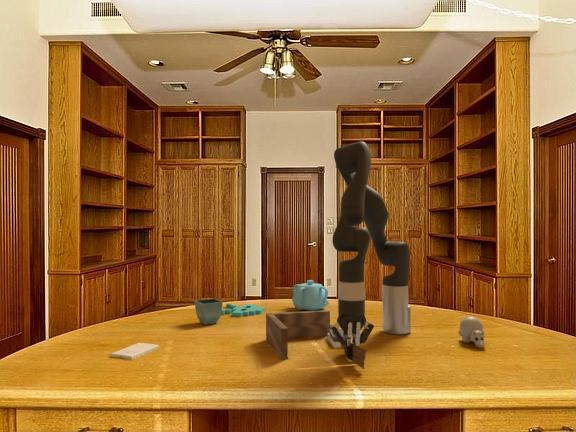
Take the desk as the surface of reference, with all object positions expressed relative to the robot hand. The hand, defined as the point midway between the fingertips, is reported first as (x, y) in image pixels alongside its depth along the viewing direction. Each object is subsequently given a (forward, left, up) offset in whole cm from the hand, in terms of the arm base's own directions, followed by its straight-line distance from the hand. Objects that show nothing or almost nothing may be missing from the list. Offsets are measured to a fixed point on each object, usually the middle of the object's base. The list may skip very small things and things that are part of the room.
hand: (351, 358), depth 120 cm
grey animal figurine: (-47, -9, -2) cm, 48 cm away
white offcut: (-4, -20, -1) cm, 20 cm away
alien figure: (+20, -80, -2) cm, 83 cm away
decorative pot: (-12, -78, -2) cm, 79 cm away
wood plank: (0, 0, -1) cm, 1 cm away
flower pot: (+36, -61, -2) cm, 71 cm away
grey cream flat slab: (-4, -20, -2) cm, 20 cm away
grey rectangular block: (-4, -20, +1) cm, 20 cm away
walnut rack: (+8, -20, -2) cm, 22 cm away
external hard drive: (+61, -27, -2) cm, 67 cm away
